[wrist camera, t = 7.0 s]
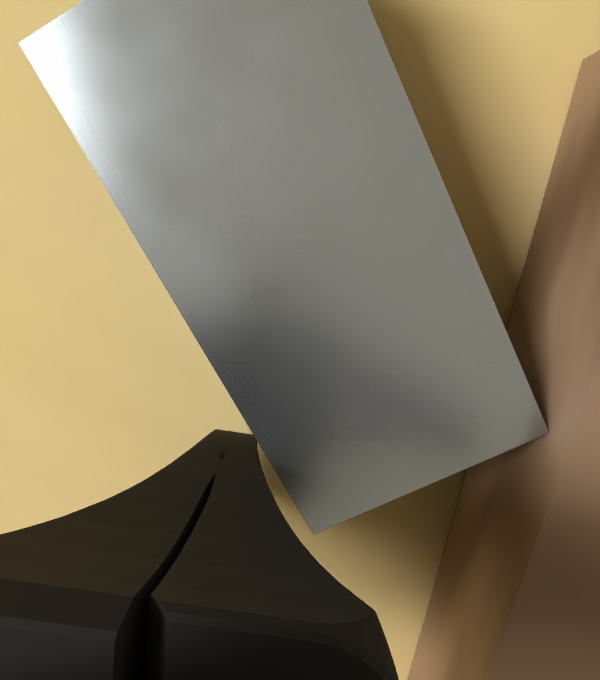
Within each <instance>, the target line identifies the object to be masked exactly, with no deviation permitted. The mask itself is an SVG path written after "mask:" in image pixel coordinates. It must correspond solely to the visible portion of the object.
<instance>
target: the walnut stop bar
mask: <svg viewBox="0 0 600 680" xmlns="http://www.w3.org/2000/svg"><path fill="white" fill-rule="evenodd" d="M506 331H507V334H508V336H509V339H510V341H511V343H512V346H513V348H514V350H515V353H516V355H517V358H518V360H519V362H520V365H521V367H522V369H523V372H524V374H525V377H526V379H527V381H528V384H529V386H530V388H531V391H532V393H533V396H534V398H535V400H536V403H537V405H538V408H539V410H540V412H541V415H542V417H543V419H544V422H545V424H546V427H547V429H548V431H549V433H548V434H545V435H543V436H541V437H538V438H536V439H534V440H531V441H529V442H527V443H525V444H522V445H520V446H518V447H515V448H513V449H511V450H508V451H506V452H504V453H501V454H499V455H497V456H494V457H492V458H490V459H487V460H485V461H483V462H480V463H478V464H476V465H473V466H471V467H469V468H467V472H466V475H465V479H464V482H463V486H462V489H461V493H460V496H459V500H458V504H457V507H456V511H455V514H454V518H453V521H452V525H451V528H450V532H449V535H448V539H447V542H446V546H445V549H444V553H443V557H442V560H441V564H440V567H439V571H438V574H437V578H436V581H435V585H434V588H433V592H432V595H431V599H430V603H429V606H428V610H427V613H426V617H425V620H424V624H423V627H422V631H421V634H420V638H419V641H418V645H417V649H416V652H415V656H414V659H413V663H412V666H411V670H410V673H409V677H408V680H600V50H599V51H598V52H596V53H594V54H592V55H590V56H589V57H587V58H585V59H583V61H582V65H581V69H580V72H579V76H578V79H577V83H576V86H575V90H574V93H573V97H572V100H571V104H570V107H569V111H568V115H567V118H566V122H565V125H564V129H563V132H562V136H561V139H560V143H559V146H558V150H557V153H556V157H555V160H554V164H553V168H552V171H551V175H550V178H549V182H548V185H547V189H546V192H545V196H544V199H543V203H542V206H541V210H540V214H539V217H538V221H537V224H536V228H535V231H534V235H533V238H532V242H531V245H530V249H529V252H528V256H527V260H526V263H525V267H524V270H523V274H522V277H521V281H520V284H519V288H518V291H517V295H516V298H515V302H514V305H513V309H512V313H511V316H510V320H509V323H508V327H507V330H506Z"/></svg>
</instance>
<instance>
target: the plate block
mask: <svg viewBox="0 0 600 680" xmlns="http://www.w3.org/2000/svg"><path fill="white" fill-rule="evenodd" d="M19 44H20V46H21V48H22V49H23V51H24V53H25V54H26V56H27V58H28V59H29V61H30V63H31V64H32V66H33V68H34V69H35V71H36V73H37V74H38V76H39V78H40V79H41V81H42V83H43V84H44V86H45V88H46V89H47V91H48V93H49V94H50V96H51V98H52V99H53V101H54V103H55V104H56V106H57V108H58V109H59V111H60V113H61V114H62V116H63V118H64V119H65V121H66V123H67V124H68V126H69V128H70V129H71V131H72V133H73V134H74V136H75V138H76V139H77V141H78V143H79V144H80V146H81V148H82V149H83V151H84V153H85V154H86V156H87V158H88V159H89V161H90V163H91V164H92V166H93V168H94V169H95V171H96V173H97V174H98V176H99V178H100V179H101V181H102V183H103V184H104V186H105V188H106V189H107V191H108V193H109V194H110V196H111V198H112V199H113V201H114V203H115V204H116V206H117V208H118V209H119V211H120V213H121V214H122V216H123V218H124V219H125V221H126V223H127V224H128V226H129V228H130V229H131V231H132V233H133V234H134V236H135V238H136V239H137V241H138V243H139V244H140V246H141V248H142V249H143V251H144V253H145V254H146V256H147V258H148V259H149V261H150V263H151V264H152V266H153V268H154V269H155V271H156V273H157V274H158V276H159V278H160V279H161V281H162V283H163V284H164V286H165V288H166V289H167V291H168V293H169V294H170V296H171V298H172V299H173V301H174V303H175V304H176V306H177V308H178V309H179V311H180V313H181V314H182V316H183V318H184V319H185V321H186V323H187V324H188V326H189V328H190V329H191V331H192V333H193V334H194V336H195V338H196V339H197V341H198V343H199V344H200V346H201V348H202V349H203V351H204V353H205V354H206V356H207V358H208V359H209V361H210V363H211V364H212V366H213V368H214V369H215V371H216V373H217V374H218V376H219V378H220V379H221V381H222V383H223V384H224V386H225V388H226V389H227V391H228V393H229V394H230V396H231V398H232V399H233V401H234V403H235V404H236V406H237V408H238V409H239V411H240V413H241V414H242V416H243V418H244V419H245V421H246V423H247V424H248V426H249V428H250V429H251V431H252V433H253V434H254V436H255V438H256V439H257V441H258V443H259V444H260V446H261V448H262V449H263V451H264V453H265V454H266V456H267V458H268V459H269V461H270V463H271V464H272V466H273V468H274V470H275V471H276V473H277V475H278V476H279V478H280V480H281V481H282V483H283V485H284V486H285V488H286V490H287V491H288V493H289V495H290V496H291V498H292V500H293V501H294V503H295V505H296V506H297V508H298V510H299V511H300V513H301V515H302V516H303V518H304V520H305V521H306V523H307V525H308V526H309V528H310V530H311V531H312V533H313V534H315V533H318V532H320V531H322V530H325V529H327V528H329V527H332V526H334V525H336V524H339V523H341V522H343V521H346V520H348V519H350V518H353V517H355V516H357V515H360V514H362V513H364V512H367V511H369V510H371V509H374V508H376V507H378V506H381V505H383V504H385V503H388V502H390V501H392V500H394V499H397V498H399V497H401V496H404V495H406V494H408V493H411V492H413V491H415V490H418V489H420V488H422V487H425V486H427V485H429V484H432V483H434V482H436V481H439V480H441V479H443V478H446V477H448V476H450V475H453V474H455V473H457V472H459V471H462V470H464V469H466V468H469V467H471V466H473V465H476V464H478V463H480V462H483V461H485V460H487V459H490V458H492V457H494V456H497V455H499V454H501V453H504V452H506V451H508V450H511V449H513V448H515V447H518V446H520V445H522V444H525V443H527V442H529V441H531V440H534V439H536V438H538V437H541V436H543V435H545V434H548V433H549V431H548V429H547V427H546V424H545V422H544V419H543V417H542V415H541V412H540V410H539V408H538V405H537V403H536V400H535V398H534V396H533V393H532V391H531V388H530V386H529V384H528V381H527V379H526V377H525V374H524V372H523V369H522V367H521V365H520V362H519V360H518V358H517V355H516V353H515V350H514V348H513V346H512V343H511V341H510V339H509V336H508V334H507V331H506V329H505V327H504V324H503V322H502V320H501V317H500V315H499V312H498V310H497V308H496V305H495V303H494V301H493V298H492V296H491V293H490V291H489V289H488V286H487V284H486V282H485V279H484V277H483V274H482V272H481V270H480V267H479V265H478V263H477V260H476V258H475V255H474V253H473V251H472V248H471V246H470V244H469V241H468V239H467V236H466V234H465V232H464V229H463V227H462V225H461V222H460V220H459V217H458V215H457V213H456V210H455V208H454V206H453V203H452V201H451V198H450V196H449V194H448V191H447V189H446V187H445V184H444V182H443V179H442V177H441V175H440V172H439V170H438V168H437V165H436V163H435V160H434V158H433V156H432V153H431V151H430V149H429V146H428V144H427V141H426V139H425V137H424V134H423V132H422V130H421V127H420V125H419V122H418V120H417V118H416V115H415V113H414V111H413V108H412V106H411V103H410V101H409V99H408V96H407V94H406V92H405V89H404V87H403V84H402V82H401V80H400V77H399V75H398V73H397V70H396V68H395V65H394V63H393V61H392V58H391V56H390V54H389V51H388V49H387V46H386V44H385V42H384V39H383V37H382V35H381V32H380V30H379V27H378V25H377V23H376V20H375V18H374V16H373V13H372V11H371V8H370V6H369V4H368V1H367V0H83V1H81V2H80V3H78V4H77V5H75V6H74V7H72V8H71V9H69V10H68V11H66V12H65V13H63V14H62V15H60V16H59V17H57V18H56V19H54V20H53V21H51V22H50V23H48V24H47V25H45V26H44V27H42V28H41V29H39V30H38V31H36V32H35V33H33V34H32V35H30V36H29V37H27V38H26V39H24V40H22V41H21V42H19Z"/></svg>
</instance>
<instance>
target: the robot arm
mask: <svg viewBox="0 0 600 680" xmlns="http://www.w3.org/2000/svg"><path fill="white" fill-rule="evenodd" d="M0 680H399V679H398V675H397V672H396V668H395V665H394V662H393V659H392V655H391V652H390V649H389V646H388V643H387V640H386V638H385V635H384V632H383V630H382V627H381V624H380V622H379V619H378V616H377V614H376V612H375V611H374V610H373V609H372V608H371V607H370V606H368V605H367V604H366V603H364V602H363V601H362V600H361V599H359V598H358V597H357V596H356V595H354V594H353V593H352V592H351V591H349V590H348V589H347V588H345V587H344V586H343V585H342V584H340V583H339V582H338V581H337V580H336V579H335V578H334V577H333V576H332V575H331V574H330V573H329V572H328V571H327V570H326V569H325V568H323V567H322V566H321V565H320V564H319V563H318V562H317V560H316V559H315V558H314V557H313V556H312V555H311V554H310V552H309V551H308V550H307V549H306V548H305V546H304V545H303V544H302V543H301V542H300V540H299V539H298V538H297V536H296V535H295V533H294V532H293V530H292V529H291V528H290V526H289V524H288V523H287V521H286V520H285V518H284V516H283V515H282V513H281V511H280V509H279V507H278V505H277V503H276V501H275V499H274V497H273V495H272V493H271V491H270V488H269V486H268V484H267V481H266V478H265V475H264V473H263V470H262V467H261V463H260V460H259V455H258V450H257V439H256V438H255V436H254V435H251V434H244V433H237V432H231V431H224V430H217V429H215V430H214V431H213V432H211V433H210V434H208V435H207V436H206V437H205V438H203V439H202V440H201V441H200V442H198V443H197V444H196V445H195V446H193V447H192V448H191V449H190V450H188V451H187V452H186V453H184V454H183V455H181V456H180V457H179V458H177V459H176V460H175V461H173V462H172V463H171V464H169V465H168V466H166V467H165V468H163V469H161V470H160V471H158V472H157V473H155V474H154V475H152V476H151V477H149V478H147V479H146V480H144V481H142V482H140V483H139V484H137V485H135V486H133V487H131V488H129V489H127V490H125V491H123V492H121V493H119V494H117V495H115V496H113V497H111V498H108V499H106V500H104V501H101V502H99V503H96V504H94V505H91V506H89V507H86V508H84V509H81V510H78V511H76V512H73V513H71V514H68V515H66V516H63V517H60V518H57V519H54V520H50V521H47V522H44V523H41V524H38V525H34V526H31V527H27V528H24V529H20V530H16V531H13V532H9V533H5V534H1V535H0Z"/></svg>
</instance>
